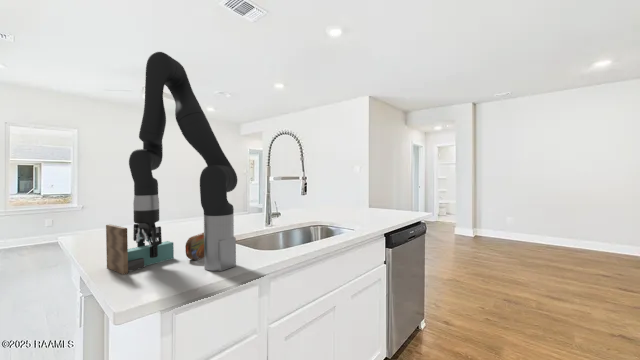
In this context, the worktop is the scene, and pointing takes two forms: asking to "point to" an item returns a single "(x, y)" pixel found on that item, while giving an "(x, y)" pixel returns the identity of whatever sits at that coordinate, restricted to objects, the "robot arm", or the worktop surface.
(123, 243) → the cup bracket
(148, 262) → the rail
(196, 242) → the tin
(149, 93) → the robot arm
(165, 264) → the worktop surface
